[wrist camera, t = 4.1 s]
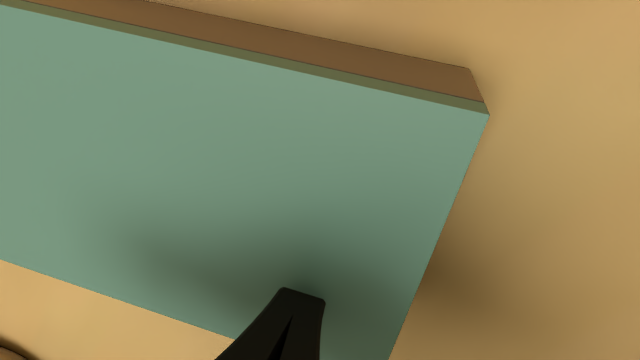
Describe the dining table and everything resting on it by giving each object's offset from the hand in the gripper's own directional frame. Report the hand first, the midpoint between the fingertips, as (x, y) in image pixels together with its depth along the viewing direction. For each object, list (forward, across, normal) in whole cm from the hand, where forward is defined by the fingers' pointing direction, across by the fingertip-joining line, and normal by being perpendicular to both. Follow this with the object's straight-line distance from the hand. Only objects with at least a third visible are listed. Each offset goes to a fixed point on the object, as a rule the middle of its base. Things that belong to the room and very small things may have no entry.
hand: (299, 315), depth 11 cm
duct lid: (+1, +5, -2) cm, 6 cm away
